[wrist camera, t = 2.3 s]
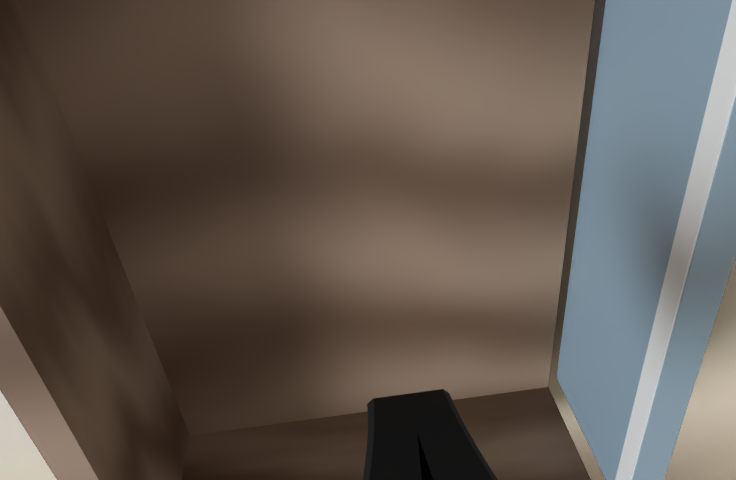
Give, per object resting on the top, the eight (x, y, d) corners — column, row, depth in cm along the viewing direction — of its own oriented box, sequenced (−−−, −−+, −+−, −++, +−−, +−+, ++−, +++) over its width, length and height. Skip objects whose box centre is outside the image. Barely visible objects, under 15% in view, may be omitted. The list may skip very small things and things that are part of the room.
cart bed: (536, 402, 26) (603, 559, 21) (182, 450, 26) (149, 625, 20) (624, -415, 12) (912, -644, 7) (-147, -343, 12) (-578, -524, 6)
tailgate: (581, 374, 24) (654, 511, 19) (555, 377, 24) (621, 515, 19) (686, -265, 13) (927, -333, 8) (637, -260, 13) (848, -325, 8)
